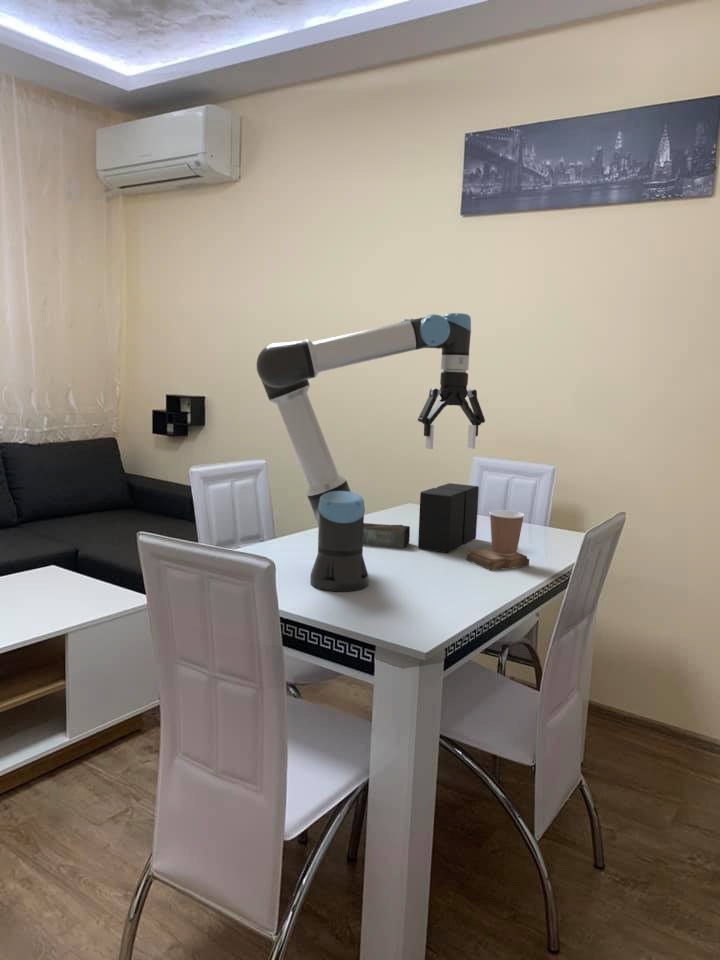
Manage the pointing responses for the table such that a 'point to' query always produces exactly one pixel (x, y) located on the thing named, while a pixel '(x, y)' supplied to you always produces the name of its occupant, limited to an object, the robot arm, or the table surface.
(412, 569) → the table surface
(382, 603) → the table surface
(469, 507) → the speaker
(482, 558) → the stand
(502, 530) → the coffee cup
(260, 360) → the robot arm
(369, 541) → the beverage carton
